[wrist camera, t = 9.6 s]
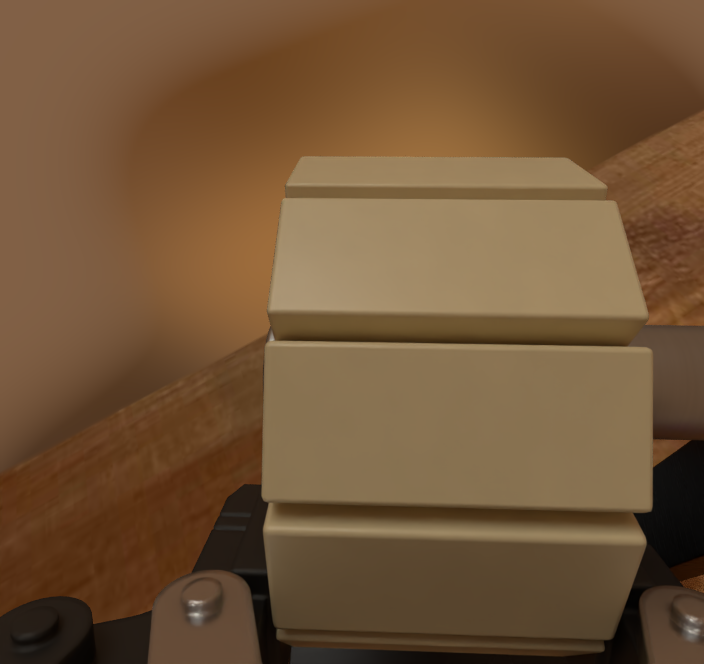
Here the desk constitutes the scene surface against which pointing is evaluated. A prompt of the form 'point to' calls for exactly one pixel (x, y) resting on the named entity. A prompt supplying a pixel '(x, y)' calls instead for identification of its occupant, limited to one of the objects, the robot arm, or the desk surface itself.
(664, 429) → the hook stand
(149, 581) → the desk surface
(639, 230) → the desk surface
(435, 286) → the gear wheel
